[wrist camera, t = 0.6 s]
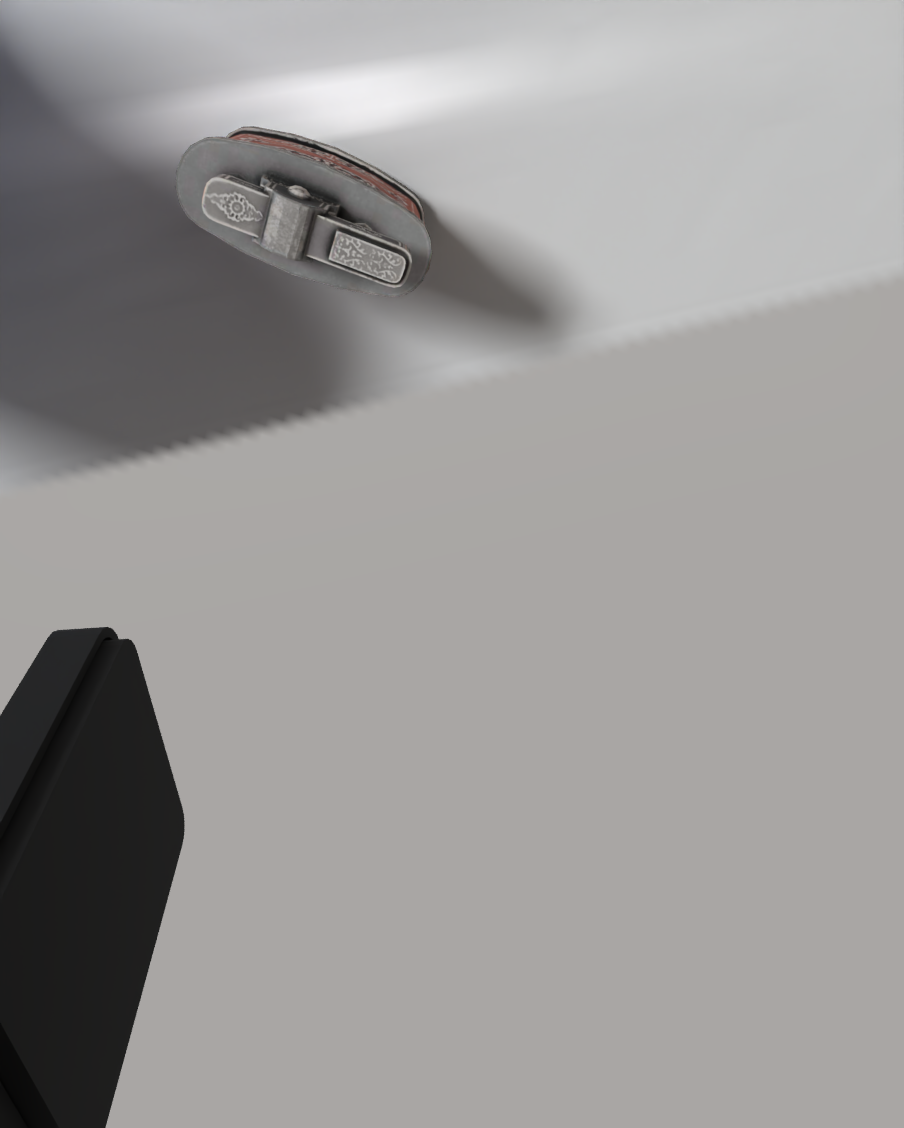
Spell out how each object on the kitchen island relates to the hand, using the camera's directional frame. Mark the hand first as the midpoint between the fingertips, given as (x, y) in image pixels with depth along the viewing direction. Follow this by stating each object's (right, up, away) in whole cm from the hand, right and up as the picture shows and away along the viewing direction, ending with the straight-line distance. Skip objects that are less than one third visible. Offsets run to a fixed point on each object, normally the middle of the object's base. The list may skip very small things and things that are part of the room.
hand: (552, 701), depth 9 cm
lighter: (-6, +16, +23) cm, 28 cm away
